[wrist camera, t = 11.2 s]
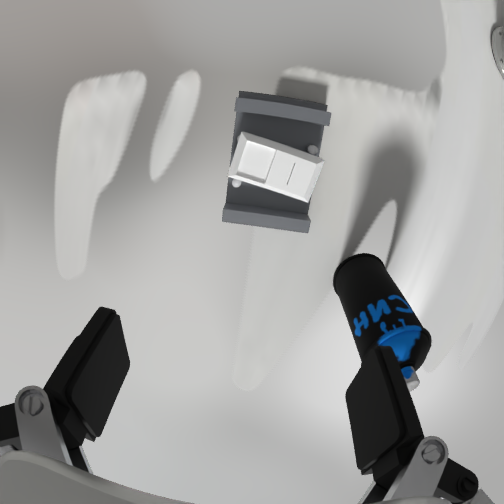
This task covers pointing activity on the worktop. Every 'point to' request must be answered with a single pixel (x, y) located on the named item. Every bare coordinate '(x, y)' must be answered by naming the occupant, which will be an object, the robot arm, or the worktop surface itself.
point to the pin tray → (282, 131)
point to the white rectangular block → (275, 166)
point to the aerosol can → (381, 314)
